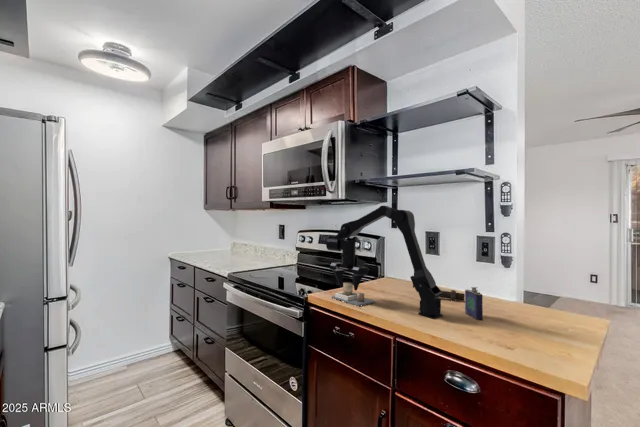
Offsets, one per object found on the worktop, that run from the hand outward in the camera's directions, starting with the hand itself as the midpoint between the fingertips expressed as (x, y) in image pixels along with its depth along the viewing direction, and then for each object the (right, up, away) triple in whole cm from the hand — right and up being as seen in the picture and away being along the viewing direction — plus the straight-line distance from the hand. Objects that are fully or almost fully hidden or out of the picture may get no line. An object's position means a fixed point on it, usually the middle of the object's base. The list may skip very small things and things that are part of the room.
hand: (348, 288), depth 134 cm
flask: (+44, -5, -22) cm, 49 cm away
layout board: (+2, -5, -3) cm, 5 cm away
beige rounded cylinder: (0, -4, 0) cm, 4 cm away
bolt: (+43, -6, +3) cm, 44 cm away
